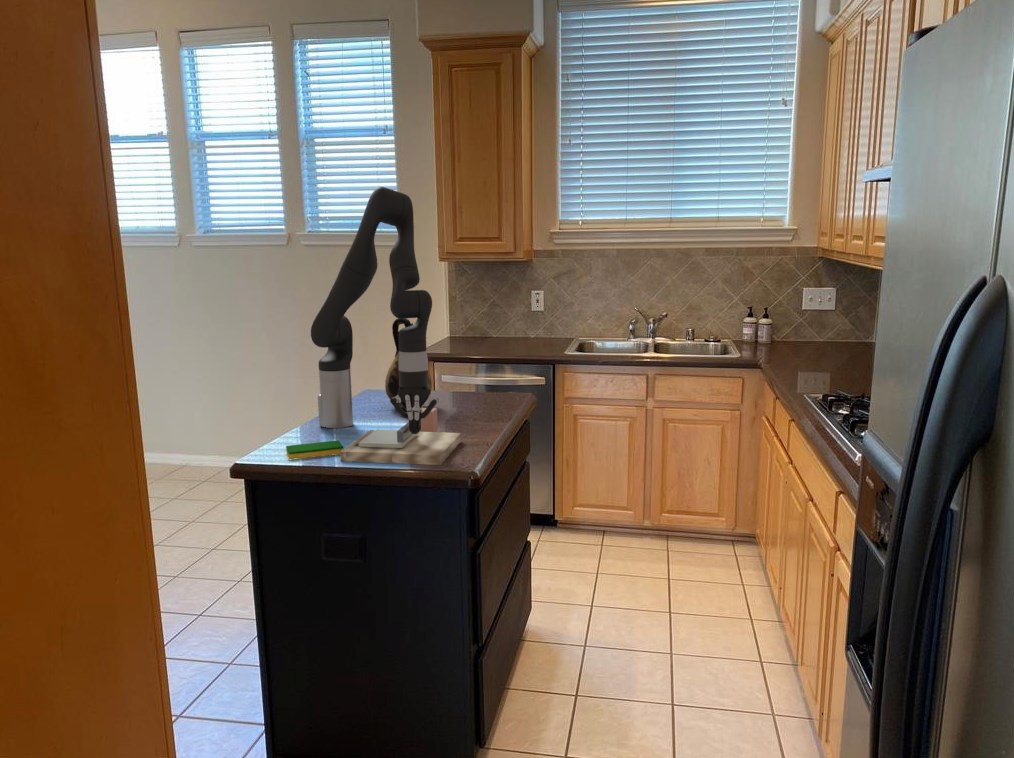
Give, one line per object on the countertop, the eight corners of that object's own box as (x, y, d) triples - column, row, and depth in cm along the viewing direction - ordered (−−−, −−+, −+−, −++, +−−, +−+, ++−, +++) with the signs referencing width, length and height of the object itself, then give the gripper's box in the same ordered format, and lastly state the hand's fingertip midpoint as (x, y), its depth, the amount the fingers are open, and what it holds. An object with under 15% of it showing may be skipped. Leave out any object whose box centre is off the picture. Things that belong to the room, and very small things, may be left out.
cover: (358, 446, 192) (357, 432, 191) (376, 432, 205) (376, 419, 204) (401, 448, 190) (401, 433, 189) (417, 434, 203) (417, 420, 203)
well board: (340, 461, 189) (340, 451, 188) (370, 438, 210) (370, 430, 210) (440, 465, 184) (440, 455, 184) (461, 441, 206) (460, 433, 205)
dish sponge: (344, 455, 196) (343, 446, 195) (289, 461, 190) (288, 452, 190) (339, 448, 202) (339, 439, 202) (286, 454, 197) (285, 445, 197)
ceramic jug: (442, 406, 251) (439, 317, 246) (412, 415, 238) (409, 321, 233) (403, 401, 260) (400, 314, 255) (372, 409, 247) (368, 319, 242)
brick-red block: (418, 435, 214) (417, 411, 212) (422, 431, 218) (422, 407, 217) (433, 435, 213) (432, 411, 212) (437, 431, 217) (437, 408, 216)
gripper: (383, 370, 190) (386, 436, 193) (434, 371, 188) (436, 437, 191) (393, 365, 198) (395, 429, 201) (441, 366, 195) (443, 430, 199)
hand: (415, 433), depth 196 cm, fingers closed
